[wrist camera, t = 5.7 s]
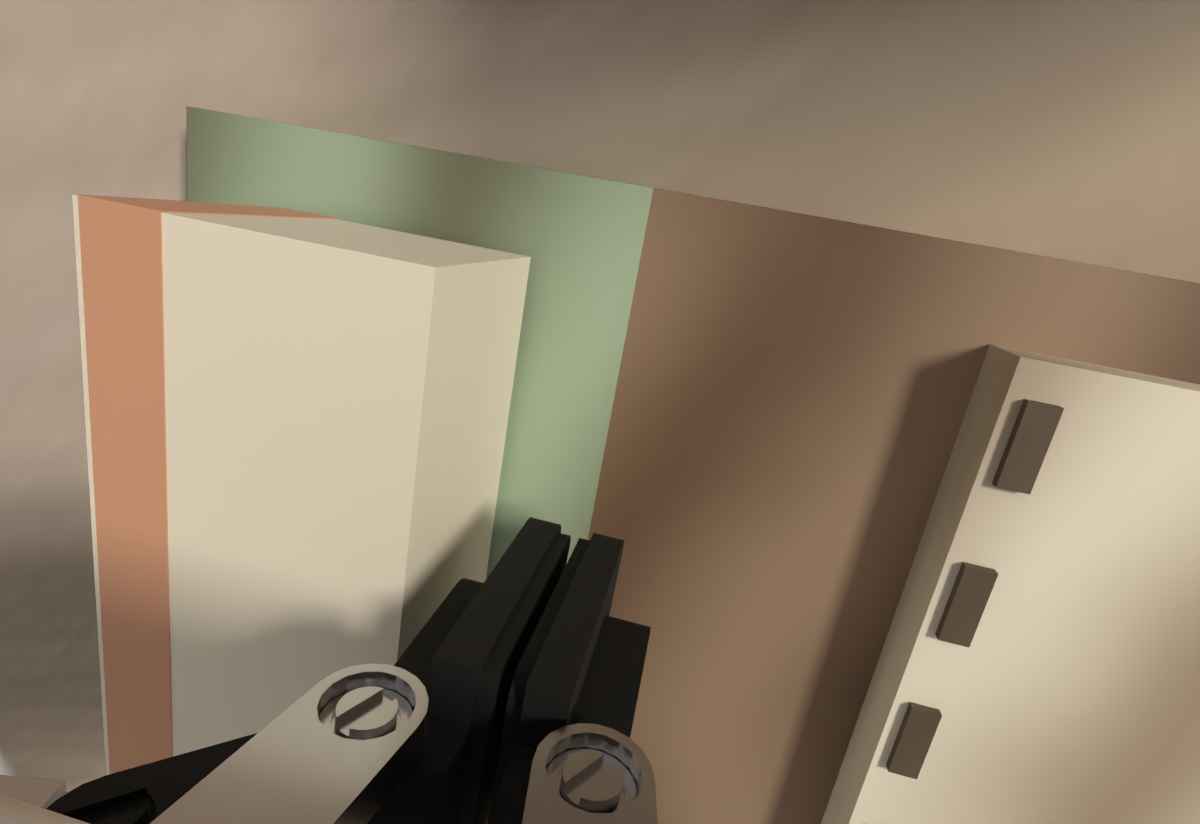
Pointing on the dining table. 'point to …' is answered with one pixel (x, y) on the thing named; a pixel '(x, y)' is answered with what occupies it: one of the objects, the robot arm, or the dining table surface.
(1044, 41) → the dining table surface
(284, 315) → the stub
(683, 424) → the board
